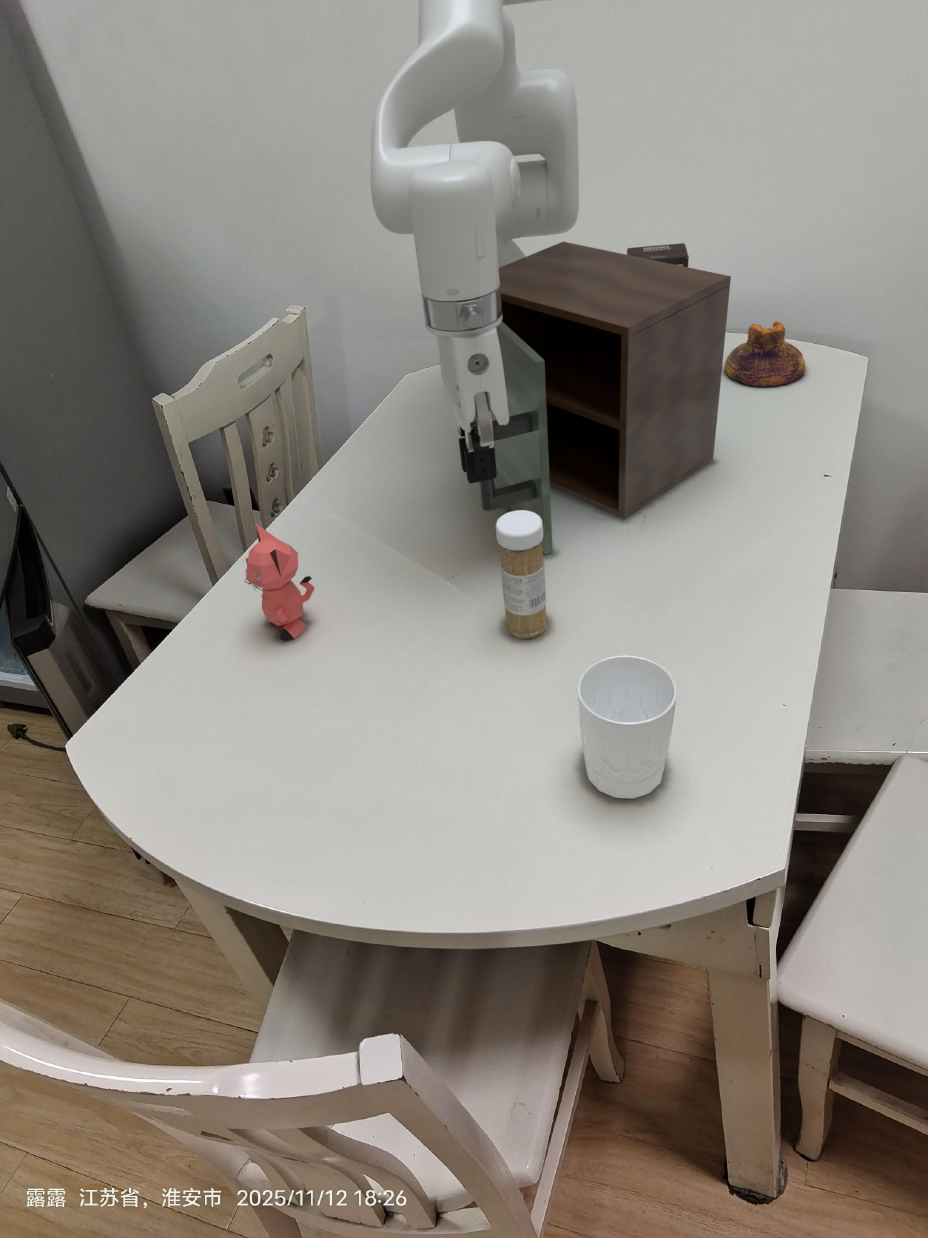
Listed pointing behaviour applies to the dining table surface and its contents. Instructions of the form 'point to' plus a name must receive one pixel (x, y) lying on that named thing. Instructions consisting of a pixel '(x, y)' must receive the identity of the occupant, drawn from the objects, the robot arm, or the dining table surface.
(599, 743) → the white cup
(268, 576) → the cat figurine
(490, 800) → the dining table surface
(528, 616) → the sprinkles bottle
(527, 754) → the dining table surface
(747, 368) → the bell
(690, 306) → the cupboard
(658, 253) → the coffee box
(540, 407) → the door
